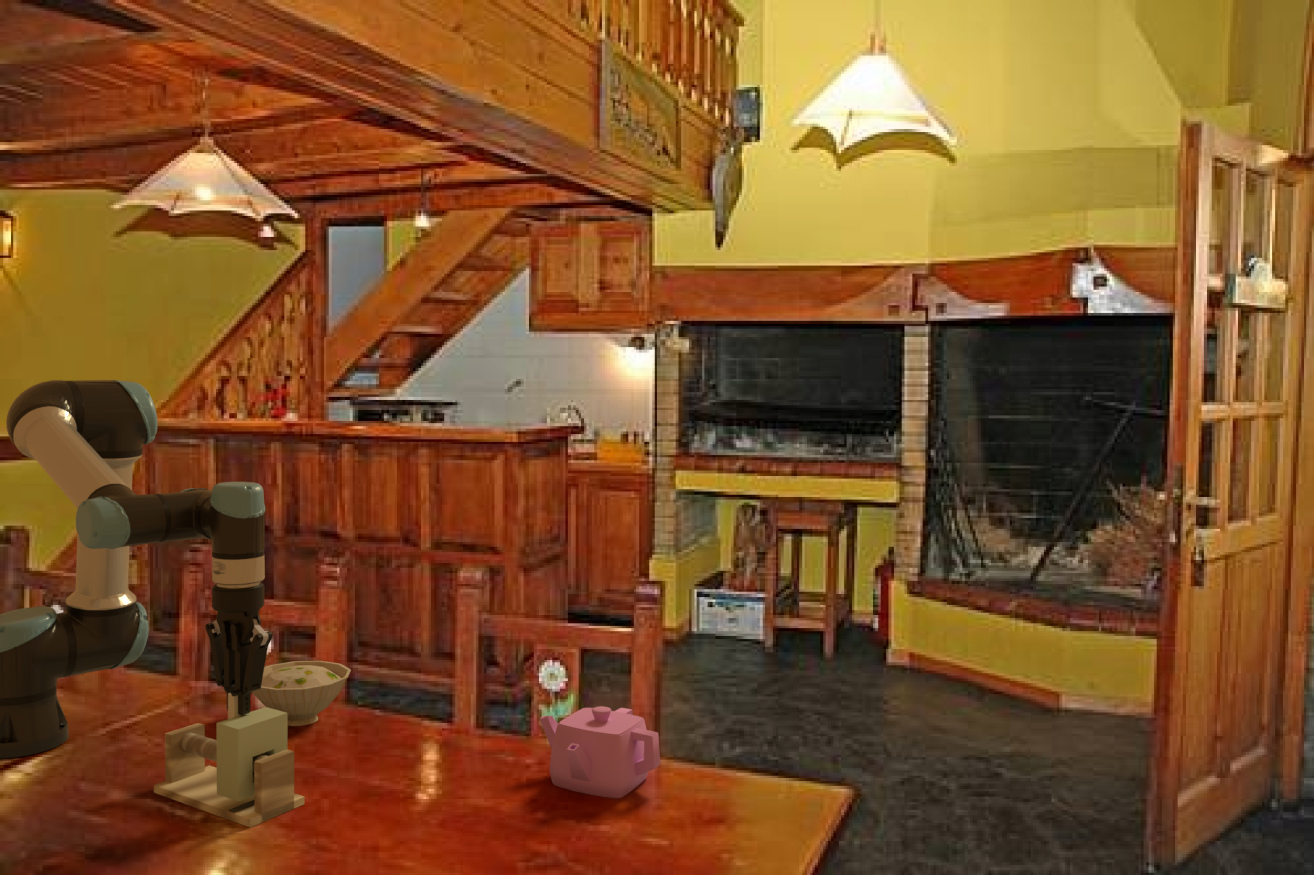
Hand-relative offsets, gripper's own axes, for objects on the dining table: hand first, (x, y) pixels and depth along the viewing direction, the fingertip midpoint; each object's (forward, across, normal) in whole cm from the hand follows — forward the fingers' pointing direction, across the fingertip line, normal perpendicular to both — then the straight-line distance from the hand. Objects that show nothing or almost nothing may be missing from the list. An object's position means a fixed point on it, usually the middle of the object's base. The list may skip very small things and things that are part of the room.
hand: (238, 733), depth 162 cm
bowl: (+11, -22, +31) cm, 40 cm away
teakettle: (+11, +42, +38) cm, 57 cm away
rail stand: (+11, -2, 0) cm, 11 cm away
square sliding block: (+8, +3, 0) cm, 9 cm away
